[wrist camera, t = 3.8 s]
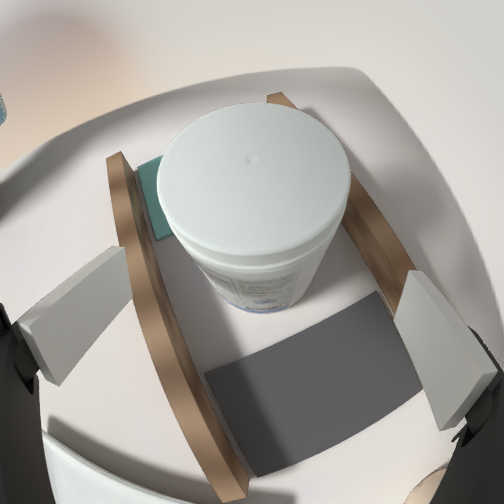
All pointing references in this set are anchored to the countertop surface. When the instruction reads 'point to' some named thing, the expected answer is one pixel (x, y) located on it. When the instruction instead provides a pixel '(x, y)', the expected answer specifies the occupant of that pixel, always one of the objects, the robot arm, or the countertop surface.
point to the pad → (154, 197)
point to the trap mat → (316, 386)
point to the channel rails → (168, 333)
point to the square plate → (92, 480)
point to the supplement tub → (255, 200)
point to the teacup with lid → (426, 489)
